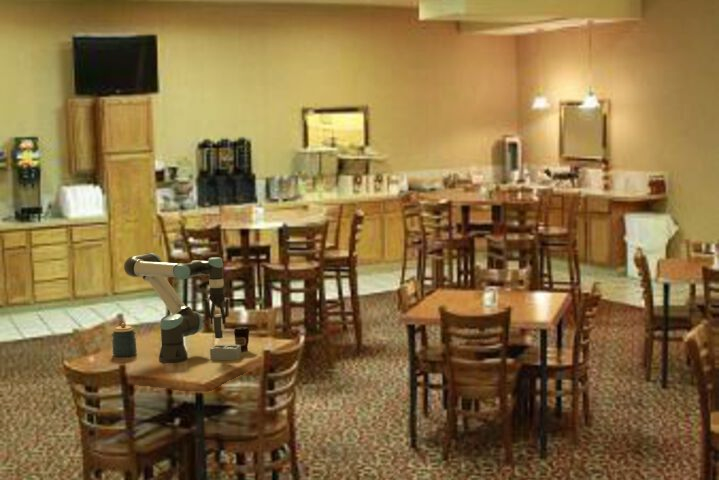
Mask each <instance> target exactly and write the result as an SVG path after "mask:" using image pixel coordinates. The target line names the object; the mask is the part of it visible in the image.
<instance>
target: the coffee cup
mask: <svg viewBox="0 0 719 480" xmlns="http://www.w3.org/2000/svg"><path fill="white" fill-rule="evenodd" d="M233 334H234V343H235V344H234V345H241V353H245V352H249V348H248V346H249V340H250V339H249V335H250V329H249V327H248V326H240V327H235V328H234V330H233Z"/></svg>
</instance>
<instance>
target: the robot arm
mask: <svg viewBox="0 0 719 480" xmlns="http://www.w3.org/2000/svg"><path fill="white" fill-rule="evenodd" d="M123 269H124V272H125V274H126V275H128V276H129V277H131V278H142V279H143V280H144V282H146V283H149V284H150V286H151V287H152V288H153V290H154V291H155V293H156V294H157V295H158V297H159V298H160V300H161V301H162V302H163V304H164V305H165V307H166V308H167V309H168V311H169V313H170V314H167V315H165V316H163V317H162V318H161V320H160V338H161V346H160V351H159V354H158V361H159V362H162V363H179V362H185V361H186V360H188V358H189V355H188V352H187V351H188V350H187V349H186V347H185V341H184V337H188V336H192V335H196V334H197V333H200V331H201V330H202V329H203V326H204V324H203V323H204V320H203V316H202V315H201V313H199V312H197V311H193V309H192V308H191V307H190V306H188V305H187V306H186V305H185V303H184V301H183V300H182V299H181V298H180V296H179V295H178V293H177V292H176V290H175V289H174V287H173V286H172V285H171V284H170V282H169V280H168V279H167V278H176V279H178V280H185V279H189V278H192V277H197V276H208V280H209V281H208V282H209V285H208V286H209V297H208V298H207V297H206V298H205V299H204V302H205V307H206V309H205V310H206V317H207V318H210V324H211V325H212V331H214V332H215V325H214V315H215V310H216V305H218V308H219V311H220V314H221V315H222V318H221V331H222V332H223V331H224V330H225V325H226V322H227V320H226V318H228V317H229V315H230V310H229V309H230V305H229V303H230V298H229V297H226V296H225V287H224V285H225V284H224V282H225V281H224V263H223V258H222V257H216V256H214V257H209V258H208V259H207V260H199V259H197V260H192V261H191V262H187V263H176V262H175V263H174V262H163V261H162V259H161V258H160V256H158V255H157V254H156V253H152V252H149V253H144V254H137V255H132V256H130V257H128V258H127V259H126V261H124V264H123ZM210 302H211V303H212V304H210ZM224 302H225V303H224ZM224 304H225V306H224ZM224 307H225V308H224Z"/></svg>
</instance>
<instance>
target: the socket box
mask: <svg viewBox="0 0 719 480" xmlns="http://www.w3.org/2000/svg"><path fill="white" fill-rule="evenodd" d="M209 354H210V355H209V356H210V361H237V360H238V359H239V358H241V357H242V352H241V345H235V344H215V345H213V346H212V347H210V348H209Z"/></svg>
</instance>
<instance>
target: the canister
mask: <svg viewBox="0 0 719 480" xmlns="http://www.w3.org/2000/svg"><path fill="white" fill-rule="evenodd" d="M134 330H135V328H134V327H132V326H130V325H126V323H124V322H122V323H121V324H120V325H119V326H115V328H113V329H112V331H113V332H112V333H111V337H112V340H111V343H112V356H113V357H116V358H129V357H133V356H136V355H137V351H138V350H137V338H136V334H137V332H136V331H134Z"/></svg>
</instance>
